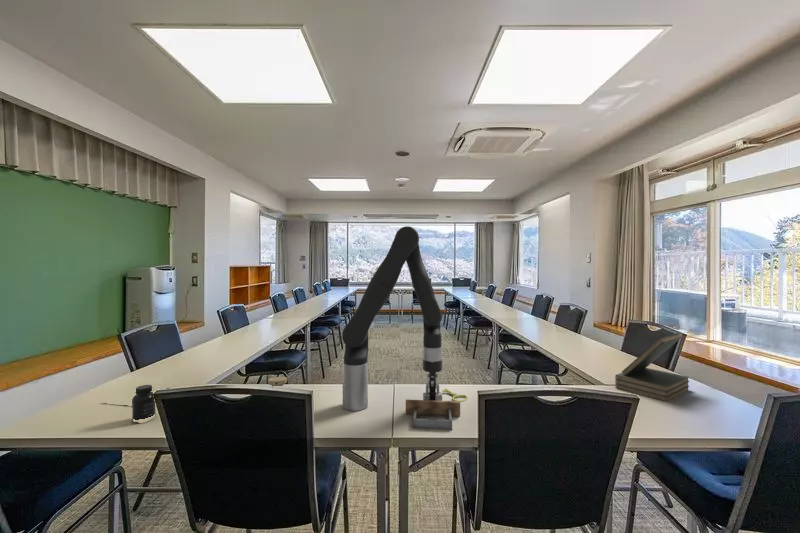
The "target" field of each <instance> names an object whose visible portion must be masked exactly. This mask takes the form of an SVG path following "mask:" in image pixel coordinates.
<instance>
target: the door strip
mask: <svg viewBox="0 0 800 533" xmlns="http://www.w3.org/2000/svg"><path fill="white" fill-rule="evenodd" d="M415 407H417V414H447V415H448V408H451V416H452V417H461V402H460V401H452V400H442V401H438V400H423V399H405V415H413V416H414V411H415Z"/></svg>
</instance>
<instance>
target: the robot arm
mask: <svg viewBox="0 0 800 533" xmlns="http://www.w3.org/2000/svg"><path fill="white" fill-rule="evenodd" d="M405 264H406V265H407V269H408V271H409V276H410V279H411V283H412V286H413V289H414V293H415V295H416V298H417V301H418V303H419V306H420V309H421V314H422V318H423V319H422V321H423V322H422V323H423V339H422V340H423V342H422V343H423V349H422V370H423V371H424V372H427V378H426V379H427V382H428V388H429V395H430V400H435V395H436V392H437V382H438V373H440V372H442V371H443V349H442V333H441V322H442V321H443V320H442V319H443V315H442V312H441V309H440V308H441V307H440V306H439V304H438V300H437V298H436V295H435V292H434V287H433V284H432V282H431V279H430V276H429V273H428V272H427V269H426V267H425V264H424V261H423V258H422V255H421V249H420V235H419V232H418V231H417V229H416V228H414V227H413V226H406V225H405V226H403V227H401V228H399V229H398V230H397V232H396V233H395V235H394V238H393V241H392V243H391V246H390V248H389V250H388V252H387V254H386V256H385V258H384V259H383V260H382V262H381V263H380V265H378V268H377V269H376V271H375V273H374V274H373V276H372V278H371V279H370V281H369V283H368V285H367V287H366V289H365V290H364V293H363V295H362V297H361V300H360V302H359V304H358V307H357V309H356V311H355V312H354V314H353V315H352V317H351V318H350V320H349V321H348V323H347V324H346V326H345V327H344V329H343V330H342V335H341V337H342V341H343V343H344V345H345V348H344V355H343V383H342V409H345V410H347V411H352V412H354V411H355V412H356V411H362V410H365V409H367V408H368V406H369V398H368V397H369V389H368V388H369V383H368V381H369V378H368V375H369V374H368V373H369V372H368V366H369V365H368V364H369V363H368V362H369V361H368V357H369V355H368V354H369V330H370V328H371V325H372V323H373V320H374V319H375V317H376V316H377V315H378V313H379V312H380V311H381V309H382V308H383V307H384V305H385V304H386V302H387V300H388V299H389V297H390V296H391V294H392V292H393V290H394V288H395V286H396V284H397V283H398V279H399V277H400V275H401V272H402V270H403V267H404V265H405Z"/></svg>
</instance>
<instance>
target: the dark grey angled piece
mask: <svg viewBox="0 0 800 533" xmlns="http://www.w3.org/2000/svg"><path fill="white" fill-rule="evenodd" d="M683 337H684V335H682V334H681V333H679V332H677V333H673V334H669V335H667V336H663V337H659V338H658V339H657V340H656V341H655V342H654V343H652V344H651V345H650V346H649V347H648V348H647V349H646V350H645V351H643V352H642V353H641V354H640V355H639V356H638V357H636V359H634V360H633V361H632V362H630V364H629V365H628V366H627V367H625V368H624V369H623V370H622V371H621V372H619V373H617V374H615V376H614V377H615V381H614V382H615V384H614V385H615V386H614V388H615V389H619V390H623V391H627V392H629V393H630V392H631V393H634V394H638V395H641V396H645V397H649V398H652V399H656V400H660V401H664V402H668V401H671V400H672V399H674V398H676V397H678V396H680V395H682V394H684V393H686V392H688V391H689V387H690V385H689V383H690V381H689V378H690V376H687V375H682V374H677V373H674V372H669V371H664V370H659V369H653V368H648V367H649V366H650V365H651V364H652V363H653V362H655V360H657V359H659V358H660V357H661V356H662V354H663V355H664V354H665V352H666V351H668V350H669V349H670V348H671V347H673V346H674V345H676V343H677V342H678V341H680V339H681V340H682V338H683Z"/></svg>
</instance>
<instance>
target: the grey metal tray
mask: <svg viewBox="0 0 800 533" xmlns="http://www.w3.org/2000/svg"><path fill="white" fill-rule="evenodd" d="M452 417H453V416H451V408H448V415H447V414H417V407H415V411H414V415H413V417H412V418H413V420H412V425H413V426H412V427H413V430H414V429H417V430H418V429H419V430H420V429H421V430H422V429H423V430H442V431H443V430H445V431H446V430H447V431H452V430H453V418H452Z"/></svg>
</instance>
